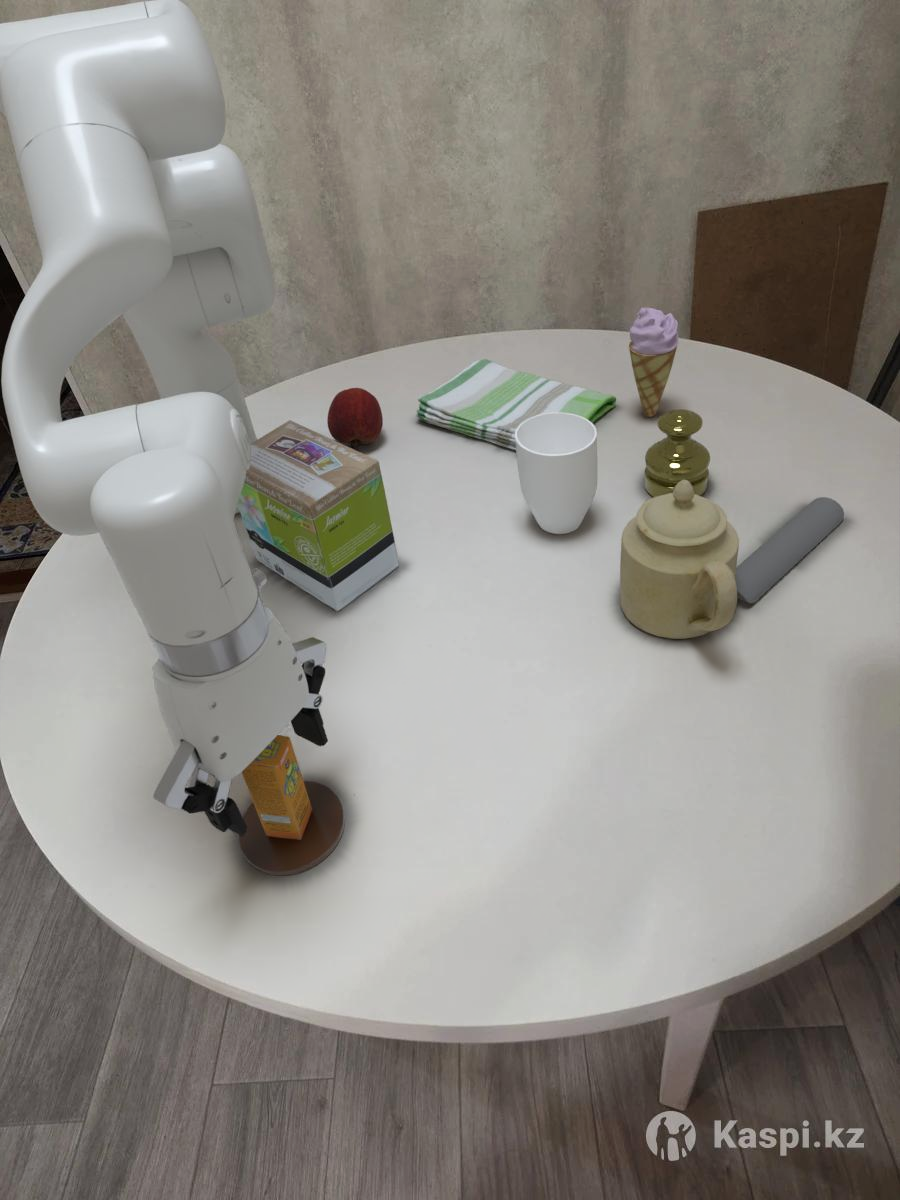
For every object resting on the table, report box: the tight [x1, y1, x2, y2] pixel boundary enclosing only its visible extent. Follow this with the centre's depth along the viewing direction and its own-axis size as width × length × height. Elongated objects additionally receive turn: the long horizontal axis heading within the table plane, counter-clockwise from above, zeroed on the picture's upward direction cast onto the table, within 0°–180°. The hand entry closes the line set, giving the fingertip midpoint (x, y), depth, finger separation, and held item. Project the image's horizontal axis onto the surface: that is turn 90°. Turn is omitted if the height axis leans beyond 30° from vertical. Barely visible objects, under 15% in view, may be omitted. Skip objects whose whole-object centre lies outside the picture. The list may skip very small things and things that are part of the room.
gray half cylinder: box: [735, 496, 845, 604], centre depth 92 cm, size 4×20×2 cm, turn 134°
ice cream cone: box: [628, 307, 679, 418], centre depth 112 cm, size 7×6×15 cm
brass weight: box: [644, 408, 711, 498], centre depth 100 cm, size 7×7×10 cm
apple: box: [326, 387, 384, 449], centre depth 117 cm, size 7×8×8 cm
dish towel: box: [415, 358, 617, 451], centre depth 119 cm, size 17×23×4 cm
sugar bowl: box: [619, 480, 740, 640], centre depth 83 cm, size 15×11×15 cm
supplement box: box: [241, 734, 312, 840], centre depth 70 cm, size 3×3×10 cm
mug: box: [515, 412, 598, 535], centre depth 98 cm, size 12×9×12 cm
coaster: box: [238, 779, 346, 876], centre depth 73 cm, size 9×9×1 cm
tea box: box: [237, 419, 400, 612], centre depth 95 cm, size 15×10×15 cm, turn 47°
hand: (273, 780), depth 69 cm, fingers open, 9 cm apart
